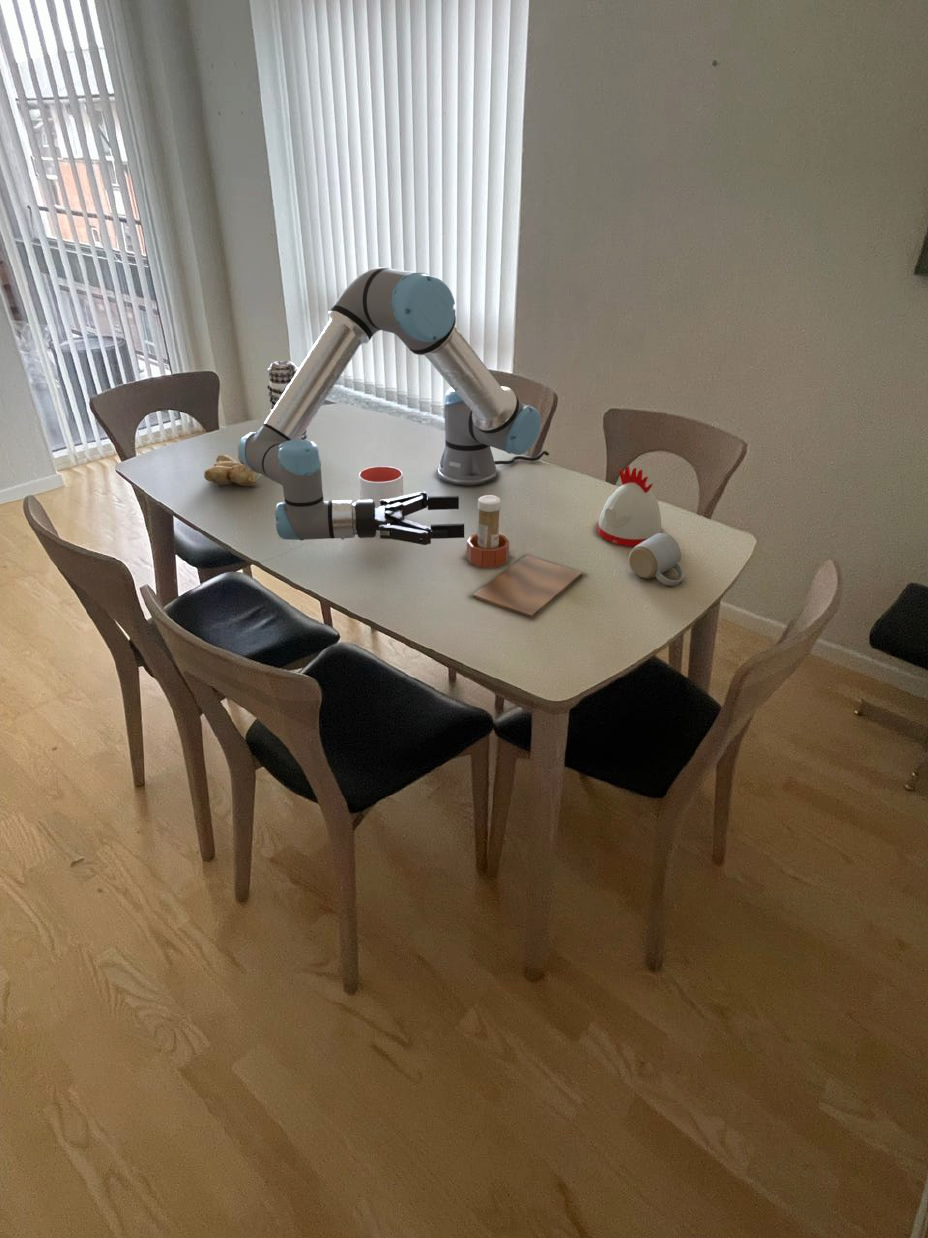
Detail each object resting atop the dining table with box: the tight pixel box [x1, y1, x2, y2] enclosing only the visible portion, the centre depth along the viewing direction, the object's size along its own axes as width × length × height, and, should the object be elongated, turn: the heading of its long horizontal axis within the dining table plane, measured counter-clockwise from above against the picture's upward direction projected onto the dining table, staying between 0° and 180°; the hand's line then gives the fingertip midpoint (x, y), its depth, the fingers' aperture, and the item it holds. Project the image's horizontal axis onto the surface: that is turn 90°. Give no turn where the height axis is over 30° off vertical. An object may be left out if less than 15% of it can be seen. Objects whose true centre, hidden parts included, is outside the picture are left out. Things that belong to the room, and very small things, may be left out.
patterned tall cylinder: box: [266, 360, 308, 440], centre depth 200 cm, size 9×9×25 cm
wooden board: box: [472, 555, 583, 619], centre depth 146 cm, size 20×13×1 cm, turn 145°
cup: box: [358, 465, 405, 507], centre depth 171 cm, size 10×10×10 cm
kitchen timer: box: [597, 465, 662, 547], centre depth 163 cm, size 14×14×15 cm
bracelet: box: [466, 533, 510, 569], centre depth 155 cm, size 8×9×4 cm
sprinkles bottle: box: [477, 494, 502, 549], centre depth 152 cm, size 5×5×14 cm
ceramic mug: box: [628, 532, 685, 587], centre depth 148 cm, size 11×8×8 cm
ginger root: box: [203, 454, 260, 487], centre depth 188 cm, size 16×16×8 cm
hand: (461, 515), depth 150 cm, fingers open, 13 cm apart
